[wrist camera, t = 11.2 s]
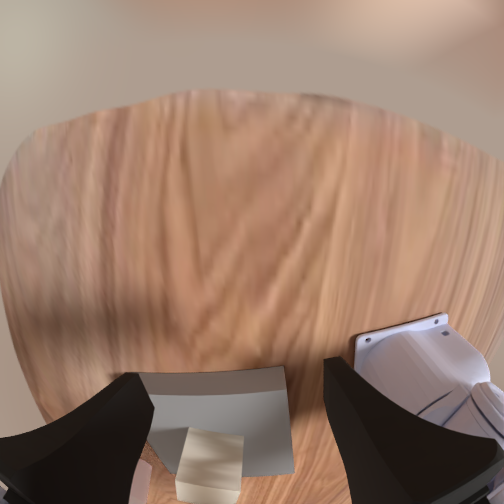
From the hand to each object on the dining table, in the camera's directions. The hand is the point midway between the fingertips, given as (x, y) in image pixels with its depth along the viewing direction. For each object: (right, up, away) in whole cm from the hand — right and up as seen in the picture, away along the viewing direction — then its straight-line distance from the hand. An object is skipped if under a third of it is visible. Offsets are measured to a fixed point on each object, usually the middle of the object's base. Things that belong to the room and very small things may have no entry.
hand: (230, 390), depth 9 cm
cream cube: (-3, -13, +11) cm, 17 cm away
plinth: (-3, -12, +14) cm, 18 cm away
